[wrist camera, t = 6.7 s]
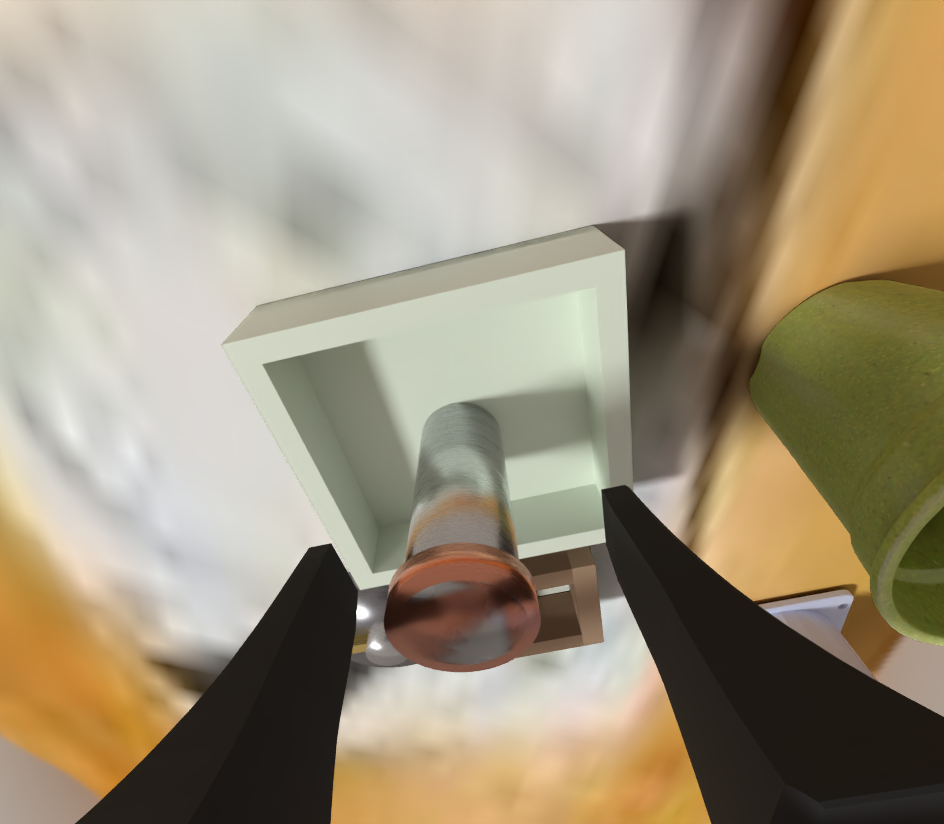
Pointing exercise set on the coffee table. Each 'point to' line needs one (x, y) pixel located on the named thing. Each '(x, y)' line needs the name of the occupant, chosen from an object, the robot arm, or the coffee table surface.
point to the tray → (451, 388)
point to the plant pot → (870, 431)
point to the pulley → (374, 631)
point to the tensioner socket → (566, 600)
